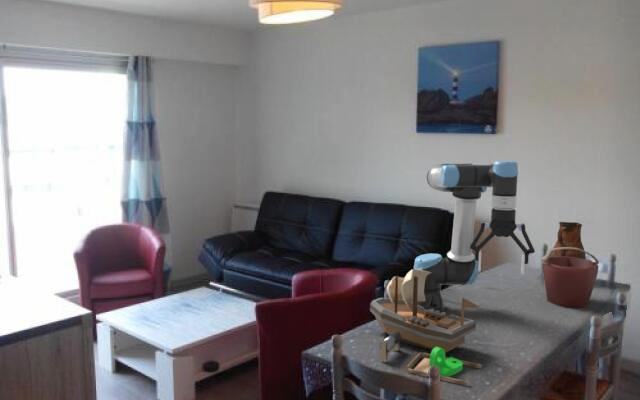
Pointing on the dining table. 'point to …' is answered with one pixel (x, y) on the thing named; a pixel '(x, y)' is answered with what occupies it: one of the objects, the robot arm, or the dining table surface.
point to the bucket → (569, 278)
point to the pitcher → (569, 240)
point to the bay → (424, 367)
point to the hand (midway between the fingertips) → (500, 272)
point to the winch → (390, 345)
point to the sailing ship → (419, 315)
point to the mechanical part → (445, 362)
